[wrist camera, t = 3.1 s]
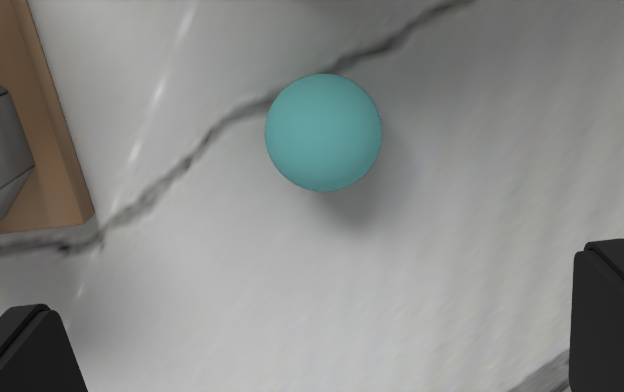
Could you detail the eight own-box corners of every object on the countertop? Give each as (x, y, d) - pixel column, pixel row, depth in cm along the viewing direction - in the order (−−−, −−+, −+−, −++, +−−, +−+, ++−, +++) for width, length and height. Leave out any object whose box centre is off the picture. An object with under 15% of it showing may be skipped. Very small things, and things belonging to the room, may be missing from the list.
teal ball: (371, 57, 22) (382, 78, 18) (381, 161, 24) (393, 202, 20) (262, 72, 22) (248, 96, 18) (279, 174, 24) (270, 216, 20)
